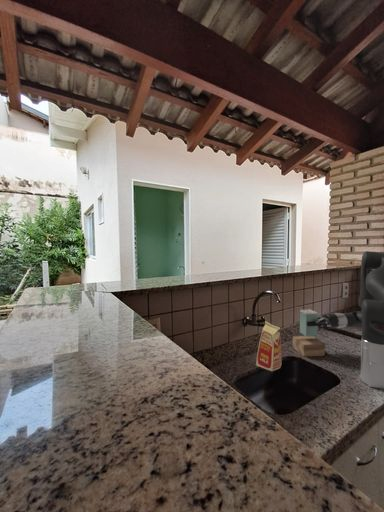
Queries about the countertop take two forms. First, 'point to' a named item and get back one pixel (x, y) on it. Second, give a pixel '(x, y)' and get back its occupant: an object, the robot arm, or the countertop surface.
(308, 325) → the robot arm
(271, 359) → the milk carton
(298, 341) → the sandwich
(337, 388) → the countertop surface
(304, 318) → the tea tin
